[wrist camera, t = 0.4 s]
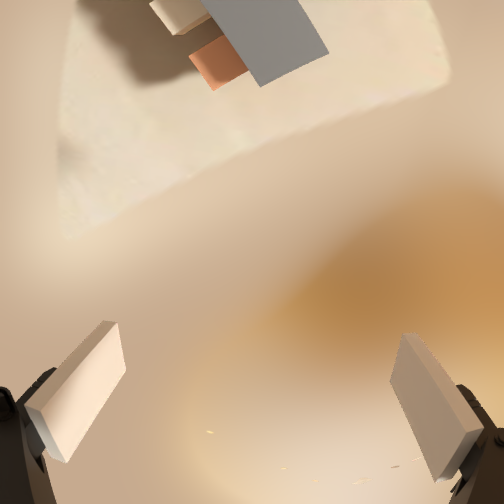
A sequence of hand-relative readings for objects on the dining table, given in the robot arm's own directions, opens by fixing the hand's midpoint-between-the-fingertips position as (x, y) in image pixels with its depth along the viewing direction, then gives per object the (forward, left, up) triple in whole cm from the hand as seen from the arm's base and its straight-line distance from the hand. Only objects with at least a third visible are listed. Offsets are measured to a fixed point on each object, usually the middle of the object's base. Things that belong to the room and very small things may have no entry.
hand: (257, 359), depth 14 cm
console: (-17, +7, -31) cm, 36 cm away
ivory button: (-17, +3, -26) cm, 31 cm away
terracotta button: (-10, +3, -26) cm, 28 cm away
